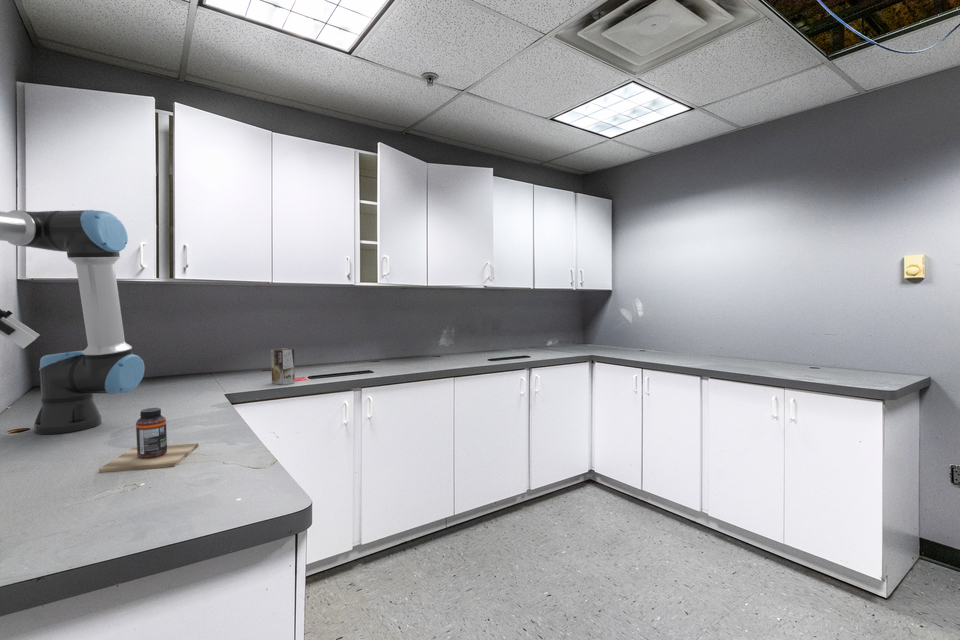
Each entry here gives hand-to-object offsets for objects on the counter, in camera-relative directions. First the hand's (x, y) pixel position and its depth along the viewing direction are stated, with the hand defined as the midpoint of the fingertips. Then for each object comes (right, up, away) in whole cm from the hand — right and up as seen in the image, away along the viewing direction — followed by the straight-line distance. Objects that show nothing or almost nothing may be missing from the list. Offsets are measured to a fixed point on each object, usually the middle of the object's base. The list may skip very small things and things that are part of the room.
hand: (32, 341), depth 98 cm
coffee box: (+5, -25, +114) cm, 116 cm away
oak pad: (+17, -29, +12) cm, 36 cm away
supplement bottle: (+17, -29, +12) cm, 36 cm away
